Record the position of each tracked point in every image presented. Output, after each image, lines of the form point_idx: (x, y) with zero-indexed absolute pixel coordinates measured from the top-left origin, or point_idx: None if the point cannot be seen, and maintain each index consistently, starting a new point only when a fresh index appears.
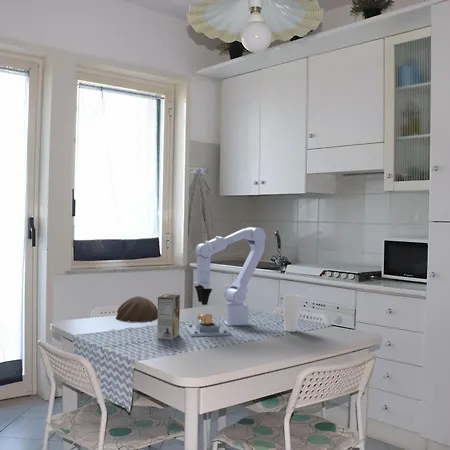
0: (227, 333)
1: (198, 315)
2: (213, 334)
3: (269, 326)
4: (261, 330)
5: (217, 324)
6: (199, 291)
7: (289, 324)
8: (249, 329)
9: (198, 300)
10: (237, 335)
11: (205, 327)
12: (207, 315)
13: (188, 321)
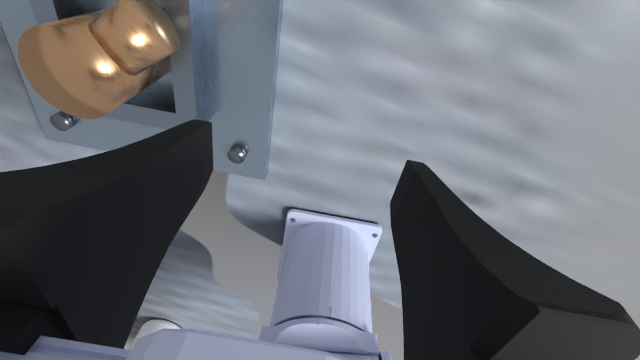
0: (40, 118)
1: (124, 4)
2: (10, 31)
3: (246, 316)
4: (176, 273)
5: (121, 120)
6: (87, 193)
7: (130, 345)
8: (199, 248)
9: (421, 167)
10: (62, 159)
11: (36, 3)
12: (20, 61)
13: (539, 46)
